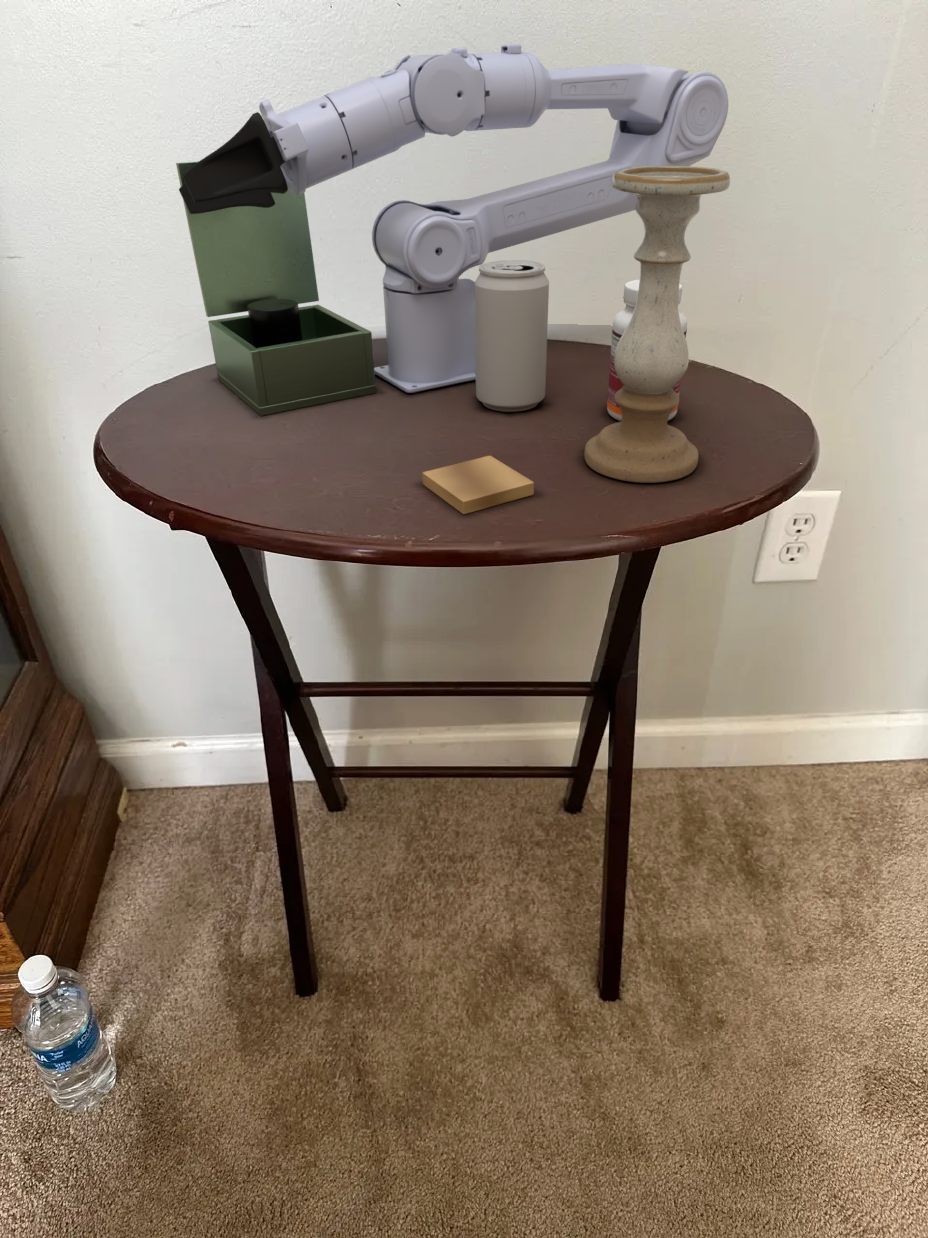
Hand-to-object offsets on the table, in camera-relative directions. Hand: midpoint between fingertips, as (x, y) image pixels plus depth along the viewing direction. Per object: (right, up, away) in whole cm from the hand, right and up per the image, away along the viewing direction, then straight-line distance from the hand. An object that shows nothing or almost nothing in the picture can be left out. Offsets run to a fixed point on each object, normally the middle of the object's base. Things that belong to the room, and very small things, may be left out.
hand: (186, 195), depth 69 cm
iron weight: (+4, -10, +16) cm, 19 cm away
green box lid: (+2, +2, +12) cm, 13 cm away
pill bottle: (+38, -16, +7) cm, 42 cm away
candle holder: (+36, -22, -2) cm, 43 cm away
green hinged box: (+6, -11, +15) cm, 20 cm away
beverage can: (+27, -14, +10) cm, 32 cm away
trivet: (+23, -25, -6) cm, 35 cm away
